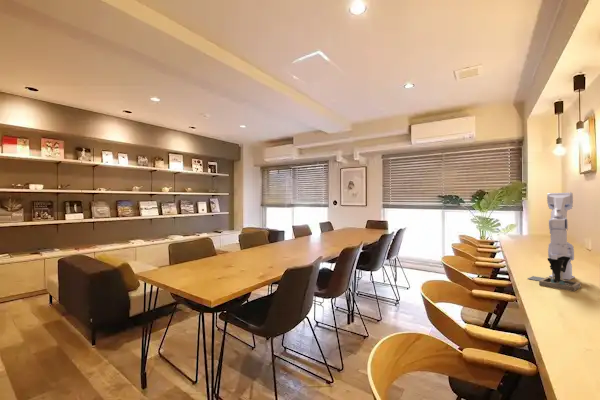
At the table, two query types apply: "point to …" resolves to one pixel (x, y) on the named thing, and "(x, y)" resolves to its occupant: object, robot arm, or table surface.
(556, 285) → the frame
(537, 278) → the mat
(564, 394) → the table surface
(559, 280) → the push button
